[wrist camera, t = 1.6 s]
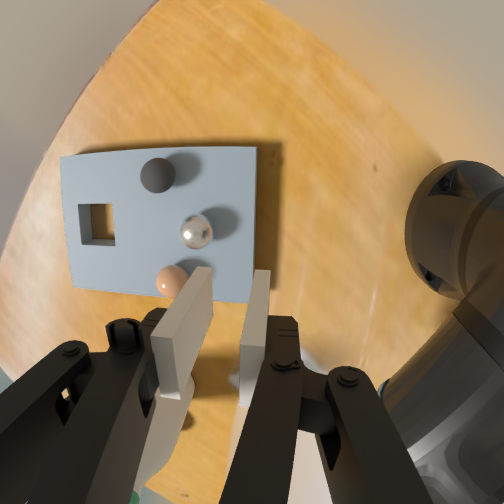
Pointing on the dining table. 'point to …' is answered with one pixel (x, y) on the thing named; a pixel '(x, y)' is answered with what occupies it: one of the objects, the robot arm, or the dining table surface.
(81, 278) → the board
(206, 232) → the steel ball
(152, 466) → the milk bottle
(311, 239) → the dining table surface
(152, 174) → the black ball
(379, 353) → the dining table surface
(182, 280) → the terracotta ball
